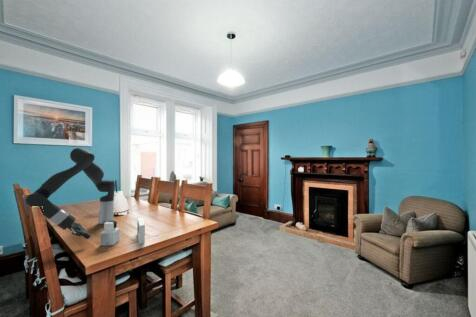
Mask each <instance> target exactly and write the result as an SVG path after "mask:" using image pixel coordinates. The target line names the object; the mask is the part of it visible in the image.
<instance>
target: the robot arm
mask: <svg viewBox="0 0 476 317" xmlns="http://www.w3.org/2000/svg"><path fill="white" fill-rule="evenodd" d="M69 158H70V159H71V161H72V162H73V163H74V164H75V165H73V166H71V167H70V168H68V169H64V170H62V171H59V172H57V173H55V174H53V175H51V176H50V177H49V178H48V179H47V180H45V181H44V182H43V183H42V184H41V186H40V187H39V188H37V189H36V190H35V191H34V192H33V193H30V194H29V195H27V196H26V198H25V203H26V205H27V206H28V207H30V208H32V206H39V207H40V209H41V211H42V213H43V215H44V217H45V218H46V219H48V220H49V221H50V222H51V223H53V225H56V226H57V227H58V228H60V229H61V230H63V231H64V230H67V229H68V230H69V231H70V232H71V235H74V236H77V237H83V238H84V239H86V240H89V239H90V238H91V235H90V233H88V232H87V231H86V229H85V227H83V226H82V224H81V223H79V222H75V221H76V219H77V218H76V217H74V216H73V215H71V214H70V213H69V212H67V211H66V210H64V209H62V208H61V207H59V206H58V205H57V204H55V203H53V202H52V201H50V200H49V197H51V195H53V194H54V193H55V192H57V190H59V189H60V188H61V187H62V186H63V185H64V184H65V183H66V182H67V181H69V180H70V179H72V178H73V177H74V176H76V175H78V174H79V173H81V172H83V173H84V174H85V175H86V176H87V178H88V179H89V180H90V181H91V182H92V183H93V184H94V186H95V187H96V189H97V191H99V192H101V193H107V194H106V195H103V196H100V198H99V210H98V214H97V215H98V218H97V220H98V221H97V223H98V224H99V225H104V223H105V222H107V221H114V212H115V211H114V209H115V208H114V205H115V204H114V200H115V188H116V182H115V181H114V179H113V180H112V179H104V176H105V173H104V171H103V170H102V169H103V168H101V167H100V165H98V164H97V163H95V162H94V161H95V160H96V158H95V155H94V153H92V152H91V151H88V150H87V149H84V148H81V147H76V148H74V149H72V150H71V152H70V154H69ZM41 206H43V209H42V207H41ZM43 210H44V211H43ZM43 215H42V216H43Z"/></svg>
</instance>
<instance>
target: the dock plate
mask: <svg viewBox="0 0 476 317" xmlns="http://www.w3.org/2000/svg"><path fill="white" fill-rule="evenodd" d="M136 224H137V230H136V231H137V232H136V233H137V240H138V244H139V245H141V244H145V242H146V241H145V239H146V236H145V235H146V224H145V221H144V218H143V217H137V223H136Z"/></svg>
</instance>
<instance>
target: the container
mask: <svg viewBox="0 0 476 317" xmlns="http://www.w3.org/2000/svg"><path fill="white" fill-rule="evenodd" d="M117 224H118V222H117V221H116V220H113V221H107V222H105V223H104V224H103V230H101V232H100V233H99V235H100V237H99V239H100V240H99V243H100V244H99V245H100V246H115V245H116V244H117V243H118V242H119V241H120V238H121V237H120V234H121V233H120V230H121V228H119V227H117V226H118V225H117Z"/></svg>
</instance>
